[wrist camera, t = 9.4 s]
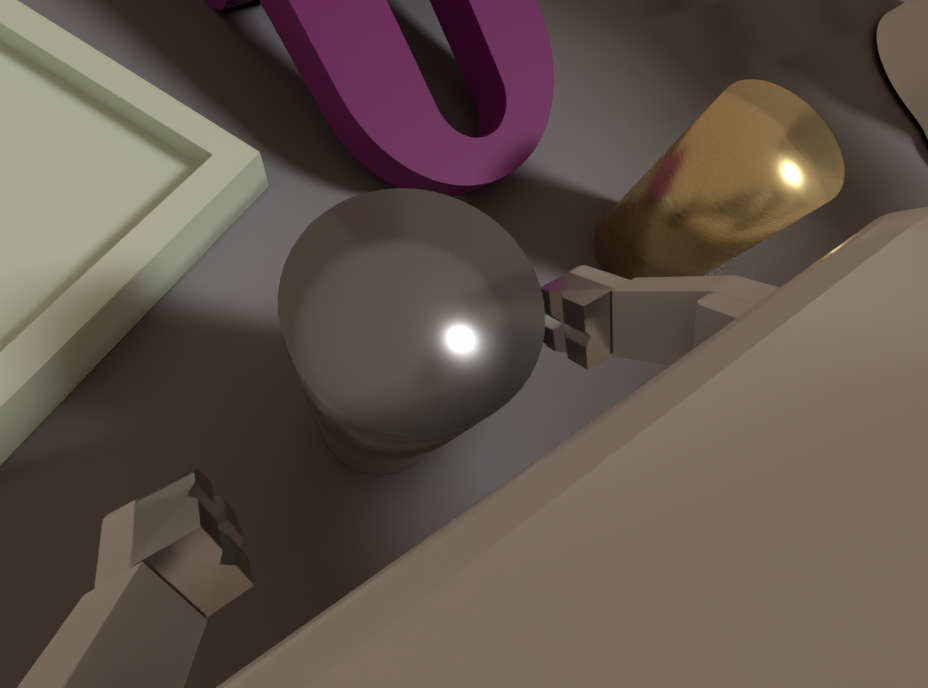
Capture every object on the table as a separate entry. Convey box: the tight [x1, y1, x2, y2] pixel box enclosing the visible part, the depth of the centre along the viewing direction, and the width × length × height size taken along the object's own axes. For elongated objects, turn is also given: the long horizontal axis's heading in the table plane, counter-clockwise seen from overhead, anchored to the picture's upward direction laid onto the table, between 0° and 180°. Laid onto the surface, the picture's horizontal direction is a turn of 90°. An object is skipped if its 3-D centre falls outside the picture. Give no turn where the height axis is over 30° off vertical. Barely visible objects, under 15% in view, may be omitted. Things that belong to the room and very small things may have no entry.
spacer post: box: [278, 188, 545, 475], centre depth 11 cm, size 4×4×9 cm
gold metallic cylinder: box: [594, 79, 845, 280], centre depth 17 cm, size 5×5×7 cm
